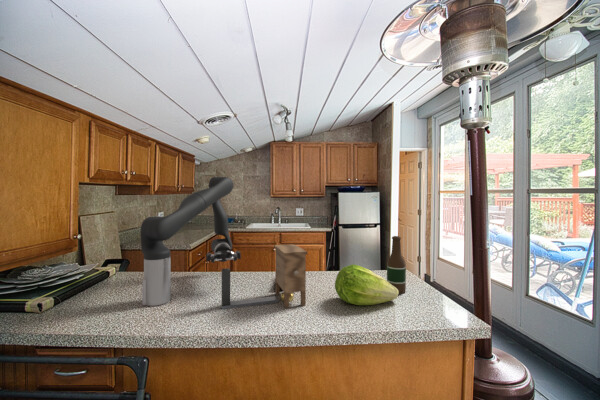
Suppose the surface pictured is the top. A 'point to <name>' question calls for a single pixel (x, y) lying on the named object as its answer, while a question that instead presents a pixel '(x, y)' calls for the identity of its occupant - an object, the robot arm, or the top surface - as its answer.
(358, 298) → the lettuce
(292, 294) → the brass puck
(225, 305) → the grey l-shaped bracket
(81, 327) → the top surface
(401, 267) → the beer bottle
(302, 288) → the walnut cabinet
